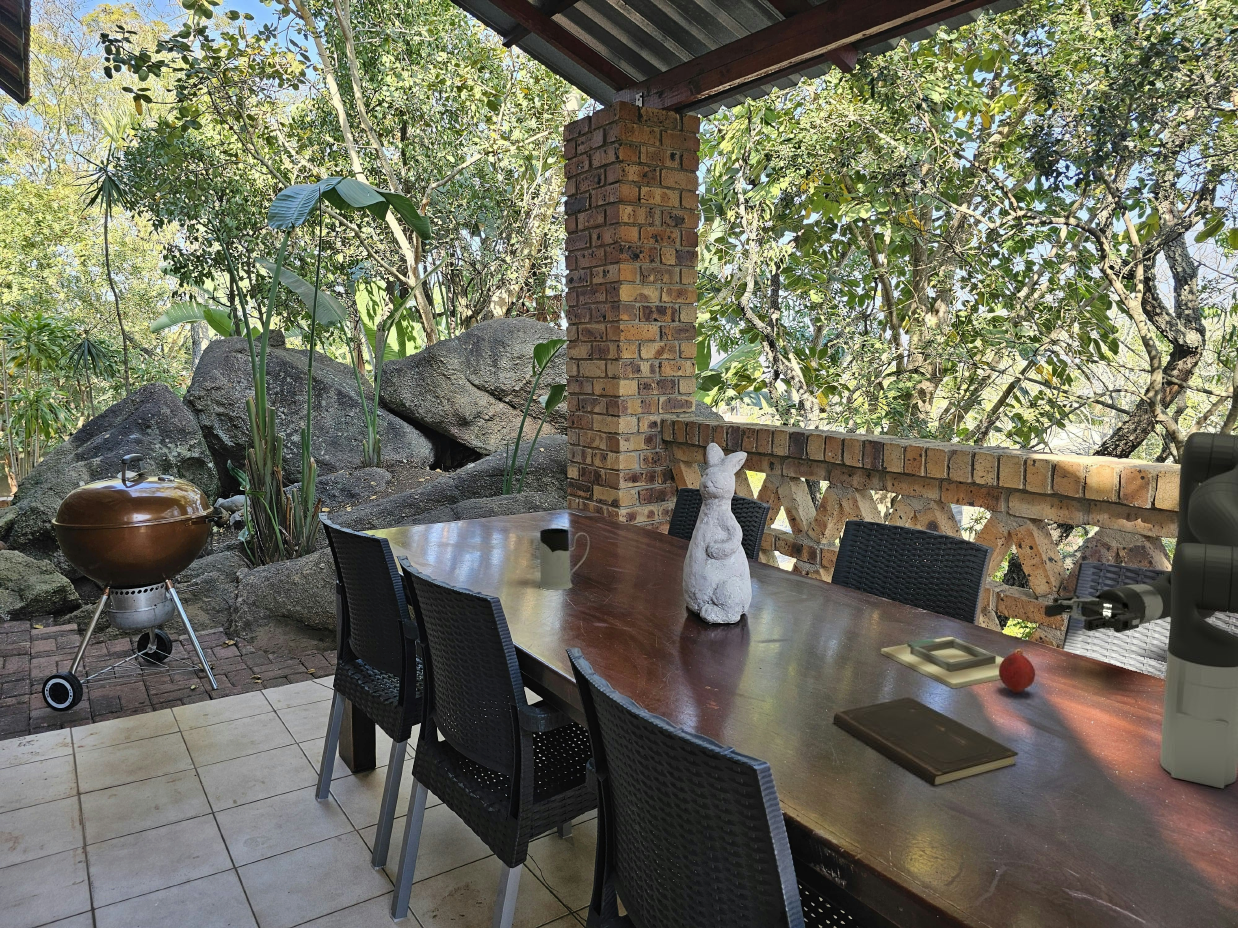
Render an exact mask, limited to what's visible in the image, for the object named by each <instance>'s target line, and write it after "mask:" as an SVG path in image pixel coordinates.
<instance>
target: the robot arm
mask: <svg viewBox="0 0 1238 928" xmlns="http://www.w3.org/2000/svg"><path fill="white" fill-rule="evenodd" d="M1179 468H1180V471H1179V487H1178V489H1179V490H1178V528H1177V537H1176V542H1175V547H1174V552H1173V555H1172V559H1171V568H1170V569H1171V570H1170V571H1167V572H1165V573H1164V574H1163V575H1161V577H1159V578H1156V579H1155V580H1154V581H1152V582H1147V583H1141V584H1128V585H1123V586H1116V587H1111V588H1106V589H1103V590H1101V591H1100V592H1099V593H1098V594H1097V595H1096V596H1095V597H1094V598H1093V597H1090V598H1080V595H1079V594H1070V595H1069V594H1068V595H1062V596H1057V597H1055V596H1054V597H1052V603H1050V604H1046V605H1045V606H1044V617H1047V618H1052V617H1059V616H1063V615H1064V616H1071V617H1072V618H1073V619H1084V621H1083V622H1084V624H1083V625H1084V626H1083V630H1085V631H1088V632H1092V631H1098V630H1102V629H1103V630H1105V631H1110V630H1111V629H1113V632H1115V633H1124V632H1127V631H1130V630H1131V631H1132V630H1135V629H1140V626H1141V625H1142V626H1143V625H1144V624H1145V625H1146V624H1148V623H1151V622H1153V621H1158V620H1163V619H1168V618H1170V624H1169V634H1168V644H1167V652H1166V653H1167V655H1166V669H1165V682H1164V696H1163V698H1164V699H1163V711H1162V726H1161V741H1160V756H1159V764H1160V766H1161V767H1162V768H1163V770H1165V771H1166V772H1168V773H1170V776H1171V778H1174V779H1178V780H1179V779H1180V780H1184V781H1188V782H1193V783H1197V784H1201V785H1206V786H1211V787H1214V788H1220V789H1224V788H1225V786H1227V785H1230V784H1231V785H1232V784H1233V783H1234V782H1236V780H1237V775H1238V636H1237V635H1236V634H1233V633H1231V632H1229V631H1227V630H1225V629H1222V628H1220V627H1218V626H1215V625H1214V624H1213V623H1210V622H1209V621H1208V620H1207V619H1209V618H1211V617H1213V616H1214V615H1215V614H1216V613H1217V612H1218V613H1219V612H1220V613H1228V614H1235V615H1238V434H1231V433H1230V434H1229V433H1220V432H1206V431H1195V432H1191V433H1190V434H1188V436H1187V437H1186V440H1185V442H1184V445H1183V449H1182V454H1181V458H1180V467H1179ZM1079 608H1080V613H1078V609H1079Z"/></svg>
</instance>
